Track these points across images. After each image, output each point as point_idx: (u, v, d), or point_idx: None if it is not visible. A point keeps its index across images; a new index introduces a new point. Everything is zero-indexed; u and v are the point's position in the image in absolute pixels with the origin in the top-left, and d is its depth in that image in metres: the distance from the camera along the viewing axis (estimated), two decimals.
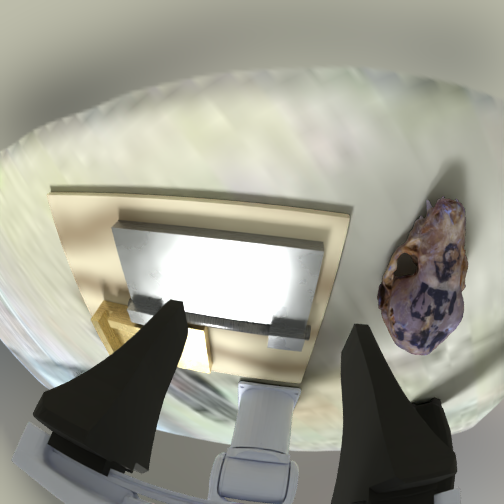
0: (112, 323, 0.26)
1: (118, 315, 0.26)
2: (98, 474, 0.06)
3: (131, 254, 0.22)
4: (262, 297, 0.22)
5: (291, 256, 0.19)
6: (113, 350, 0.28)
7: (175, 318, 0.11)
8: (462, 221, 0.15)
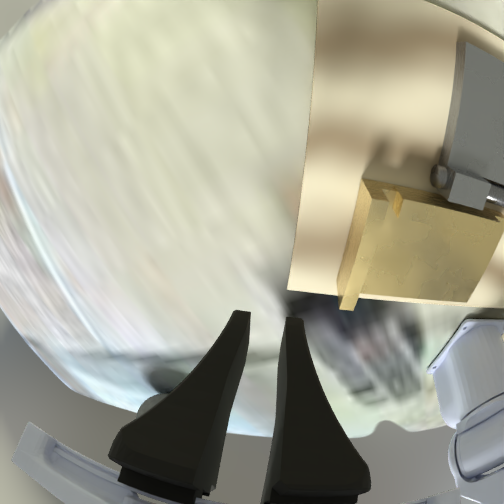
0: (409, 207, 0.14)
1: (413, 195, 0.14)
2: (98, 474, 0.06)
3: (481, 86, 0.10)
4: None
5: None
6: (364, 278, 0.17)
7: (246, 330, 0.10)
8: None
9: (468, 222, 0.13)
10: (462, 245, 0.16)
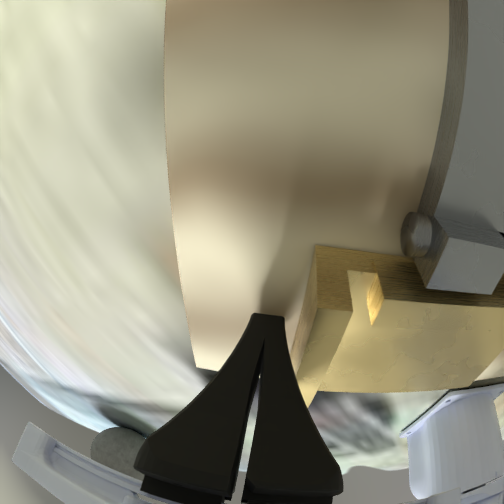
0: (395, 310, 0.08)
1: (405, 282, 0.08)
2: (98, 474, 0.06)
3: (503, 57, 0.04)
4: None
5: None
6: None
7: None
8: None
9: (492, 318, 0.07)
10: (474, 333, 0.10)
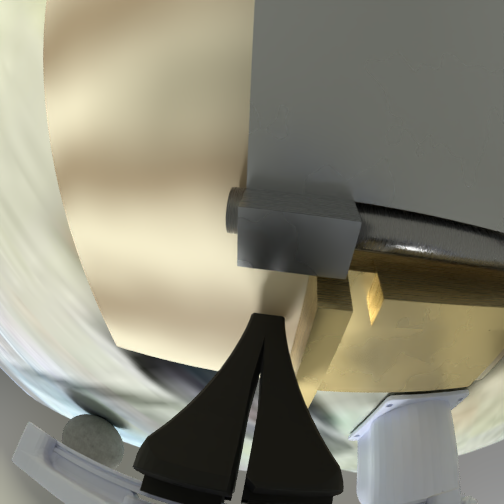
0: (394, 310, 0.08)
1: (404, 282, 0.08)
2: (98, 474, 0.06)
3: None
4: None
5: None
6: None
7: None
8: None
9: (491, 318, 0.07)
10: (474, 333, 0.10)
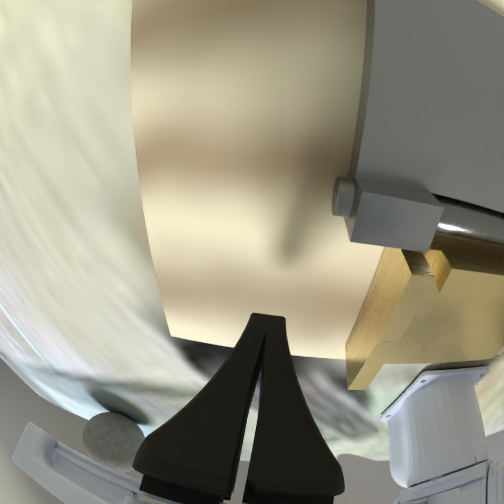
0: (457, 278, 0.09)
1: (460, 257, 0.09)
2: (98, 474, 0.06)
3: (416, 29, 0.05)
4: None
5: None
6: (384, 360, 0.12)
7: (265, 333, 0.10)
8: None
9: None
10: (502, 305, 0.11)
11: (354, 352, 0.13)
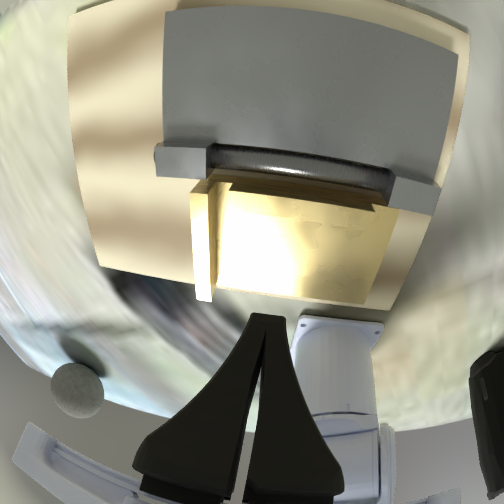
0: (237, 198, 0.15)
1: (248, 186, 0.16)
2: (98, 474, 0.06)
3: (186, 47, 0.12)
4: (386, 113, 0.12)
5: (425, 51, 0.10)
6: (209, 269, 0.18)
7: (265, 333, 0.10)
8: None
9: (320, 212, 0.15)
10: (334, 239, 0.17)
11: None
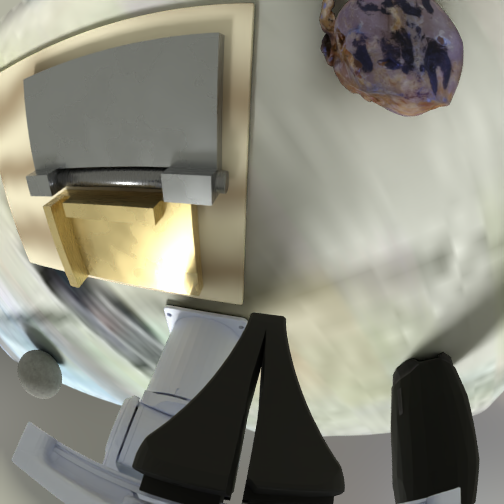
0: (68, 208, 0.17)
1: (77, 197, 0.18)
2: (98, 474, 0.06)
3: (34, 103, 0.14)
4: (153, 118, 0.15)
5: (180, 47, 0.12)
6: (69, 262, 0.20)
7: (265, 333, 0.10)
8: None
9: (115, 213, 0.17)
10: (146, 234, 0.19)
11: None
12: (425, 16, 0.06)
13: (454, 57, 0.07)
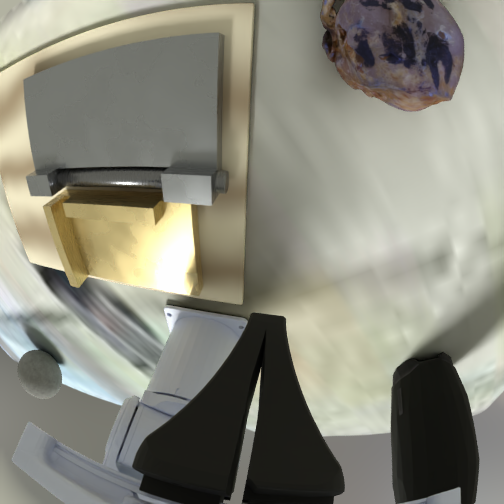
0: (68, 208, 0.17)
1: (77, 197, 0.18)
2: (98, 474, 0.06)
3: (34, 103, 0.14)
4: (153, 118, 0.15)
5: (180, 47, 0.12)
6: (69, 262, 0.20)
7: (265, 333, 0.10)
8: None
9: (115, 213, 0.17)
10: (146, 234, 0.19)
11: None
12: (426, 11, 0.06)
13: (455, 52, 0.07)
